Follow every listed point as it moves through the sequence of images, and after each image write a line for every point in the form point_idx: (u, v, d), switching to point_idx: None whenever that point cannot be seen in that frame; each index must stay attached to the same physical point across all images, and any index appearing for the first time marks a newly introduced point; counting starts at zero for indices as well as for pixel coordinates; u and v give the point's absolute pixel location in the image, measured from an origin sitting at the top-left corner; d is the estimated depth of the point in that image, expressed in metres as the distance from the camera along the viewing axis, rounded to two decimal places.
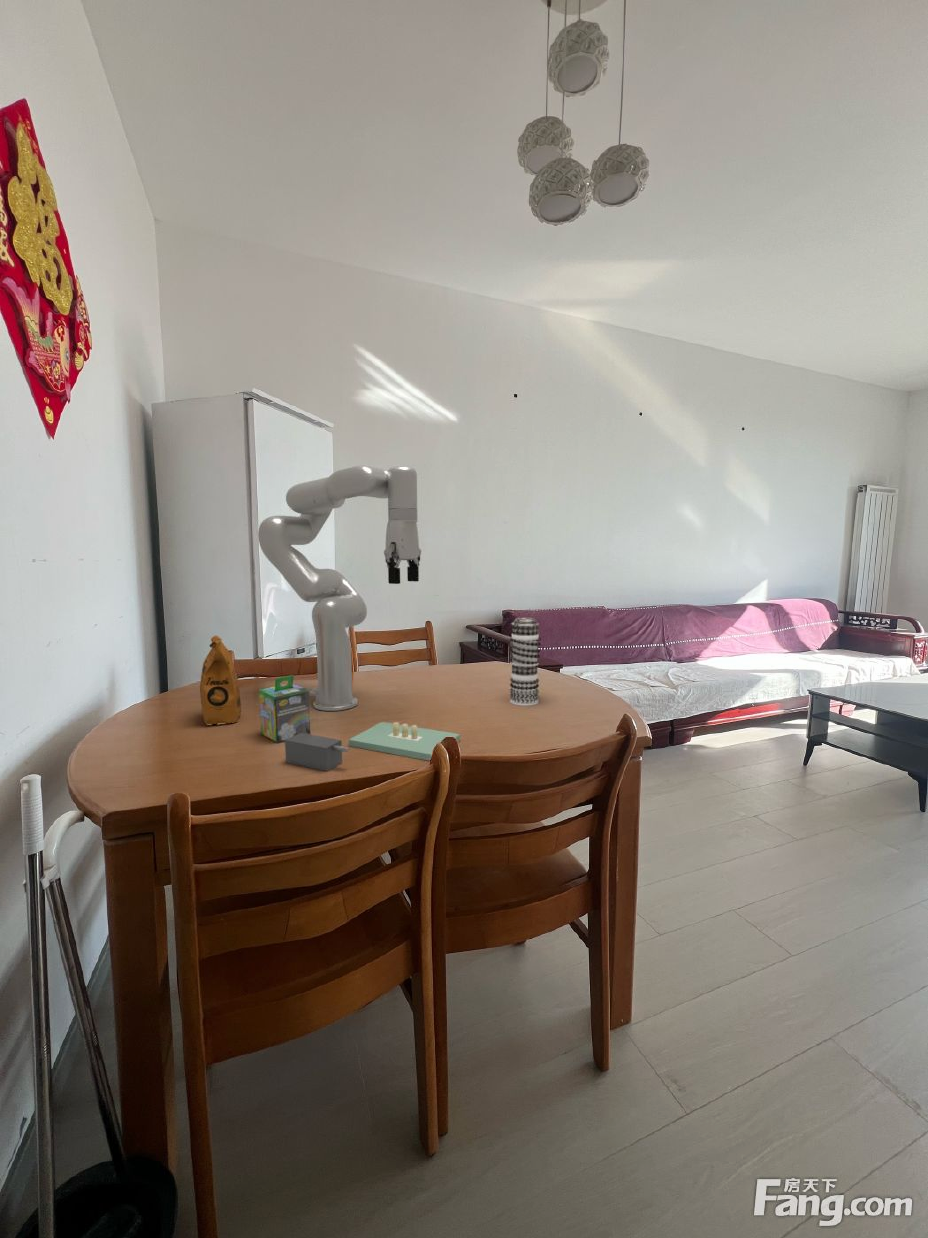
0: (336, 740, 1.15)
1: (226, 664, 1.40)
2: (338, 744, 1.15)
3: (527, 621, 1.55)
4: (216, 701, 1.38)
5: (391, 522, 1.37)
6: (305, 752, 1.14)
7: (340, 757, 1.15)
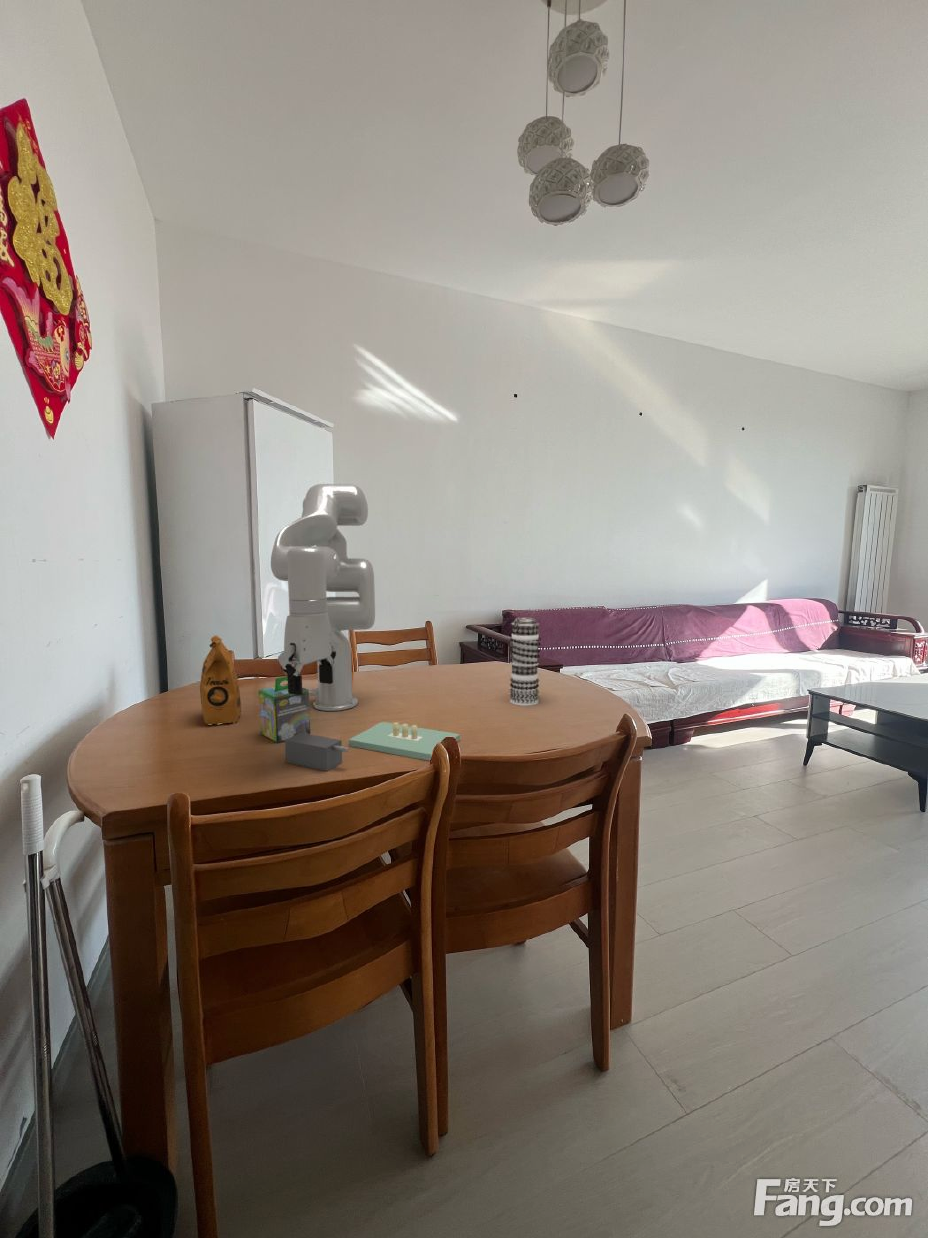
0: (336, 740, 1.15)
1: (226, 664, 1.40)
2: (338, 744, 1.15)
3: (527, 621, 1.55)
4: (216, 701, 1.38)
5: (290, 618, 1.08)
6: (305, 752, 1.14)
7: (340, 757, 1.15)
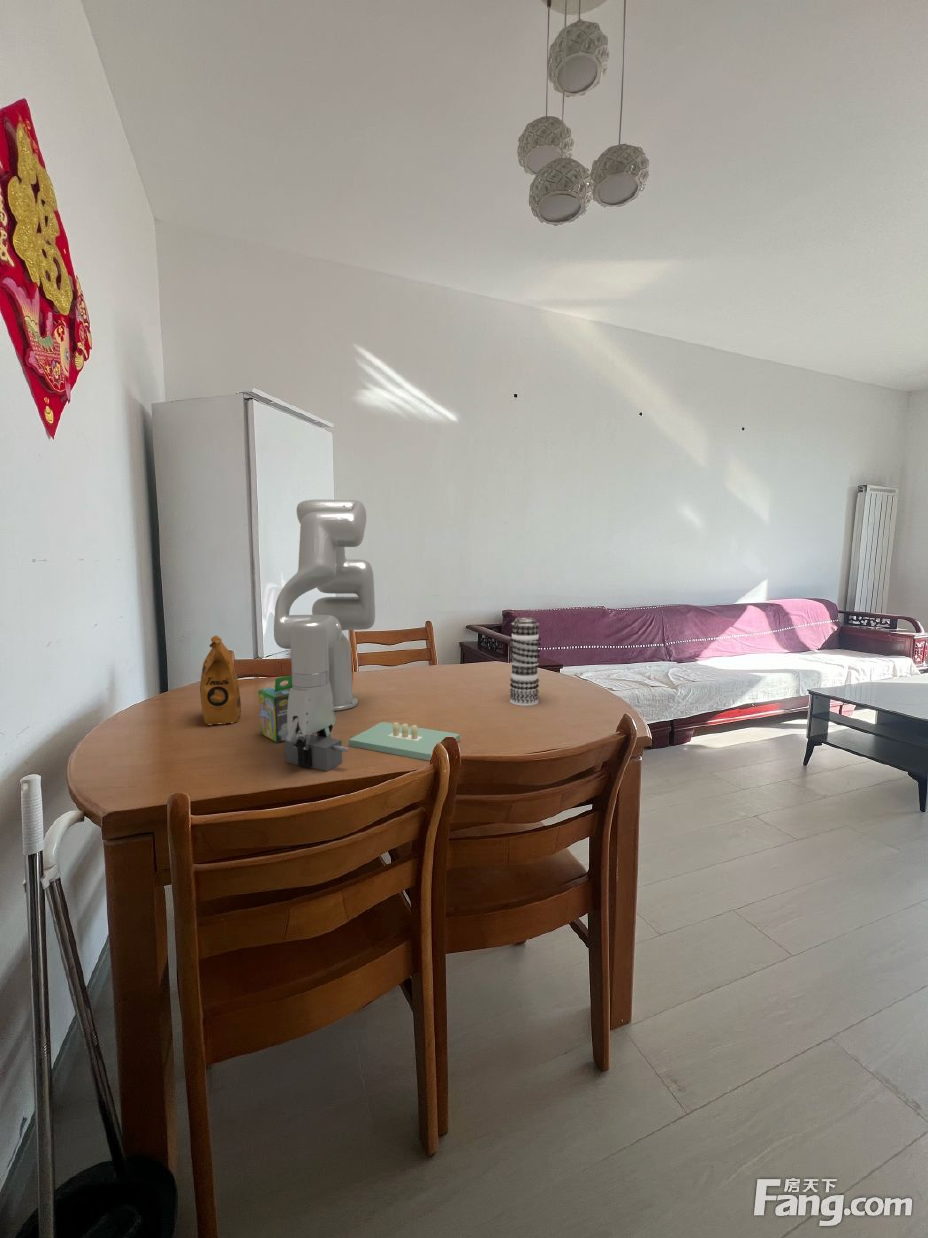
0: (336, 740, 1.15)
1: (226, 664, 1.40)
2: (338, 744, 1.15)
3: (527, 621, 1.55)
4: (216, 701, 1.38)
5: (293, 691, 1.10)
6: None
7: (340, 757, 1.15)
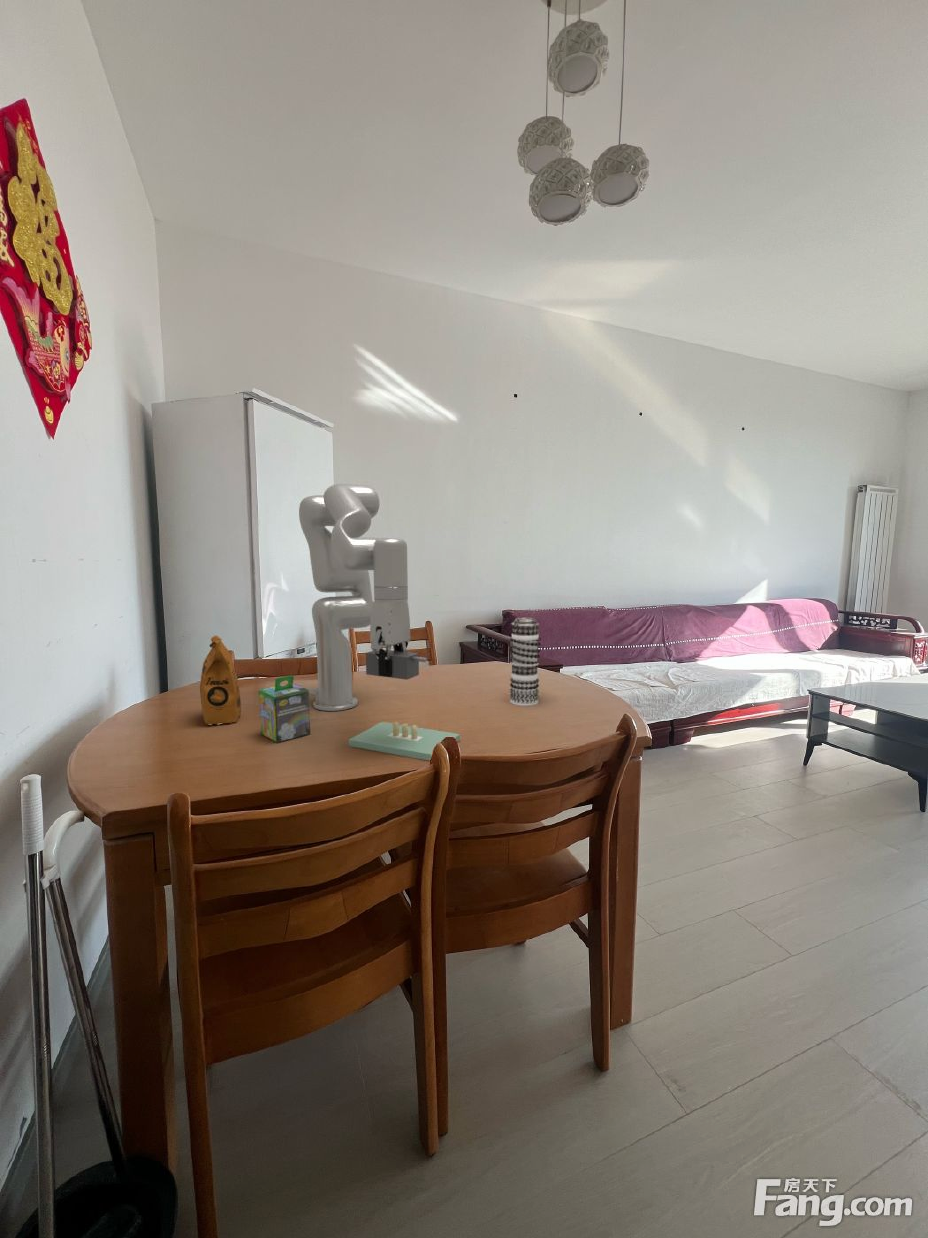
0: (414, 653, 1.23)
1: (226, 664, 1.40)
2: (416, 656, 1.22)
3: (527, 621, 1.55)
4: (216, 701, 1.38)
5: (377, 603, 1.18)
6: None
7: (417, 669, 1.23)
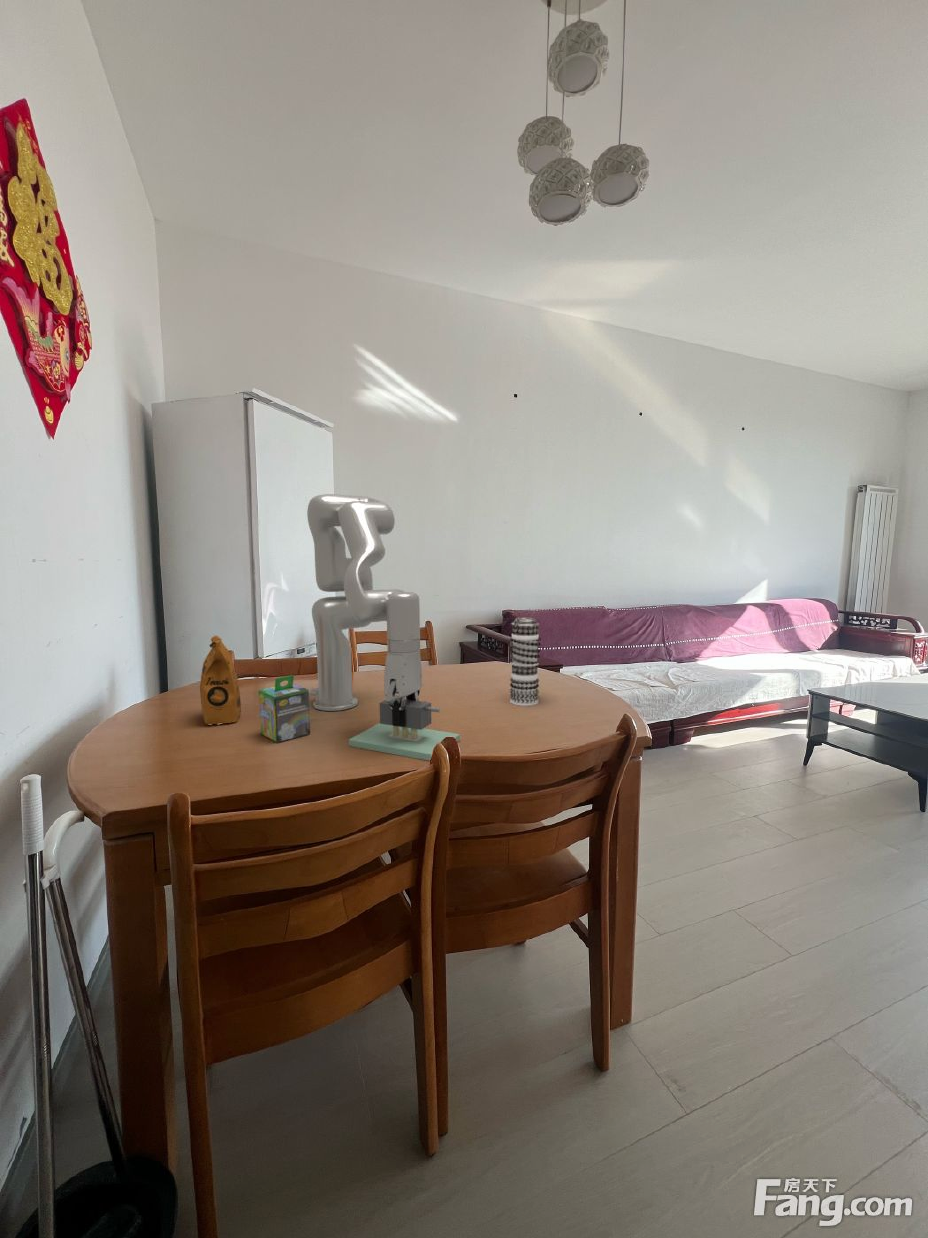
0: (426, 702, 1.26)
1: (226, 664, 1.40)
2: (429, 706, 1.25)
3: (527, 621, 1.55)
4: (216, 701, 1.38)
5: (391, 656, 1.21)
6: None
7: (430, 718, 1.26)
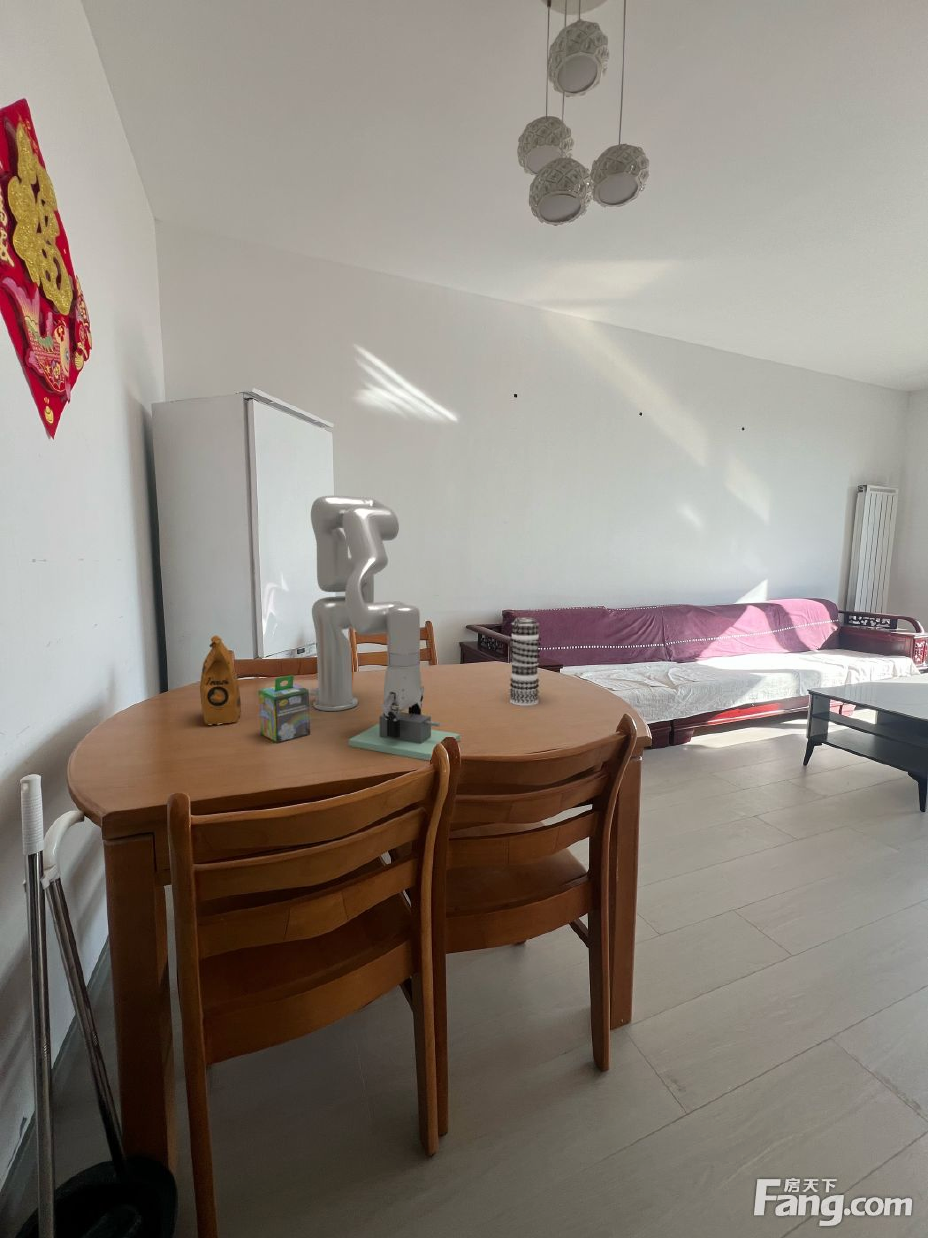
0: (426, 716, 1.26)
1: (226, 664, 1.40)
2: (428, 720, 1.26)
3: (527, 621, 1.55)
4: (216, 701, 1.38)
5: (391, 670, 1.21)
6: None
7: (429, 732, 1.27)
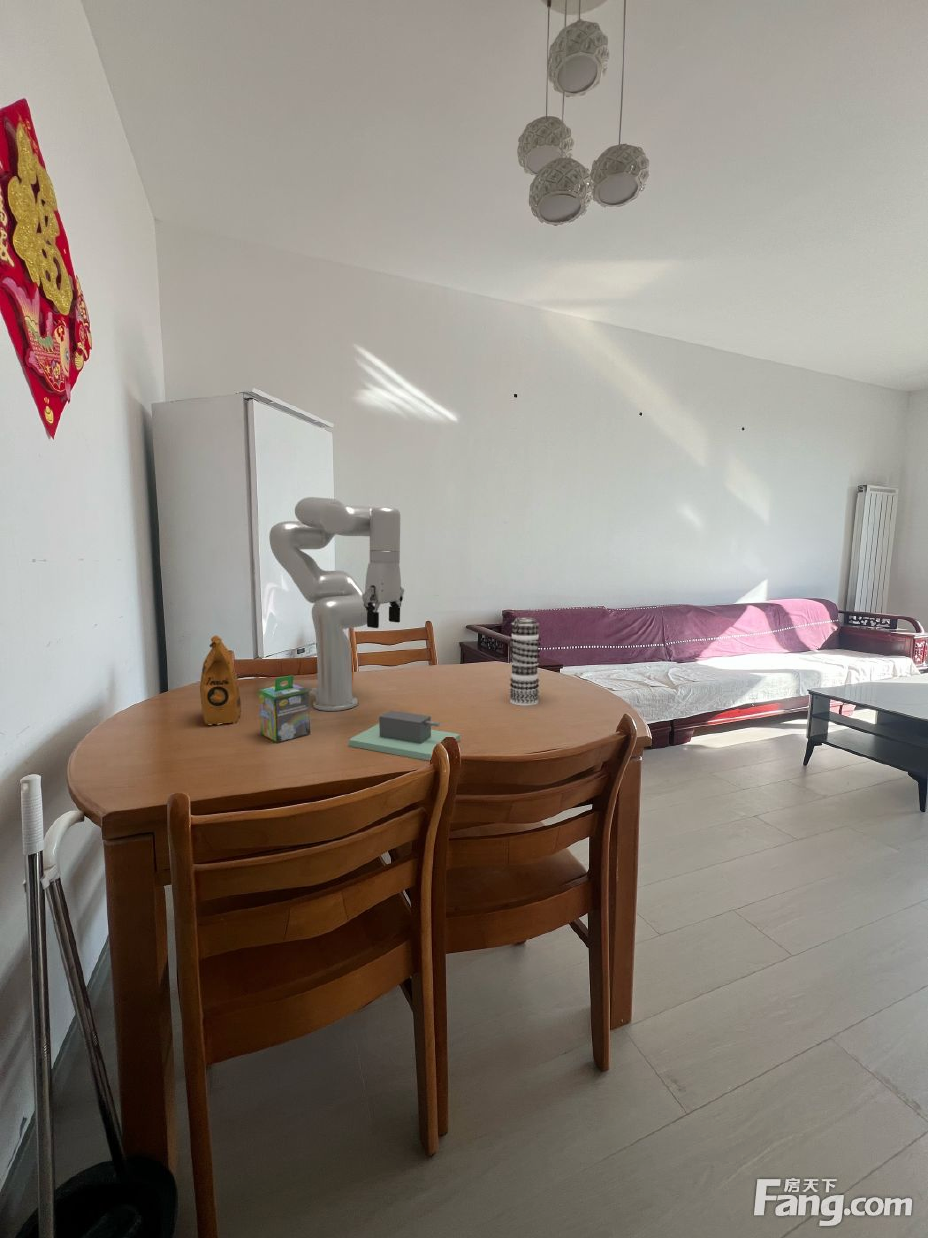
0: (426, 716, 1.26)
1: (226, 664, 1.40)
2: (428, 720, 1.26)
3: (527, 621, 1.55)
4: (216, 701, 1.38)
5: (372, 565, 1.33)
6: (399, 727, 1.25)
7: (429, 732, 1.27)
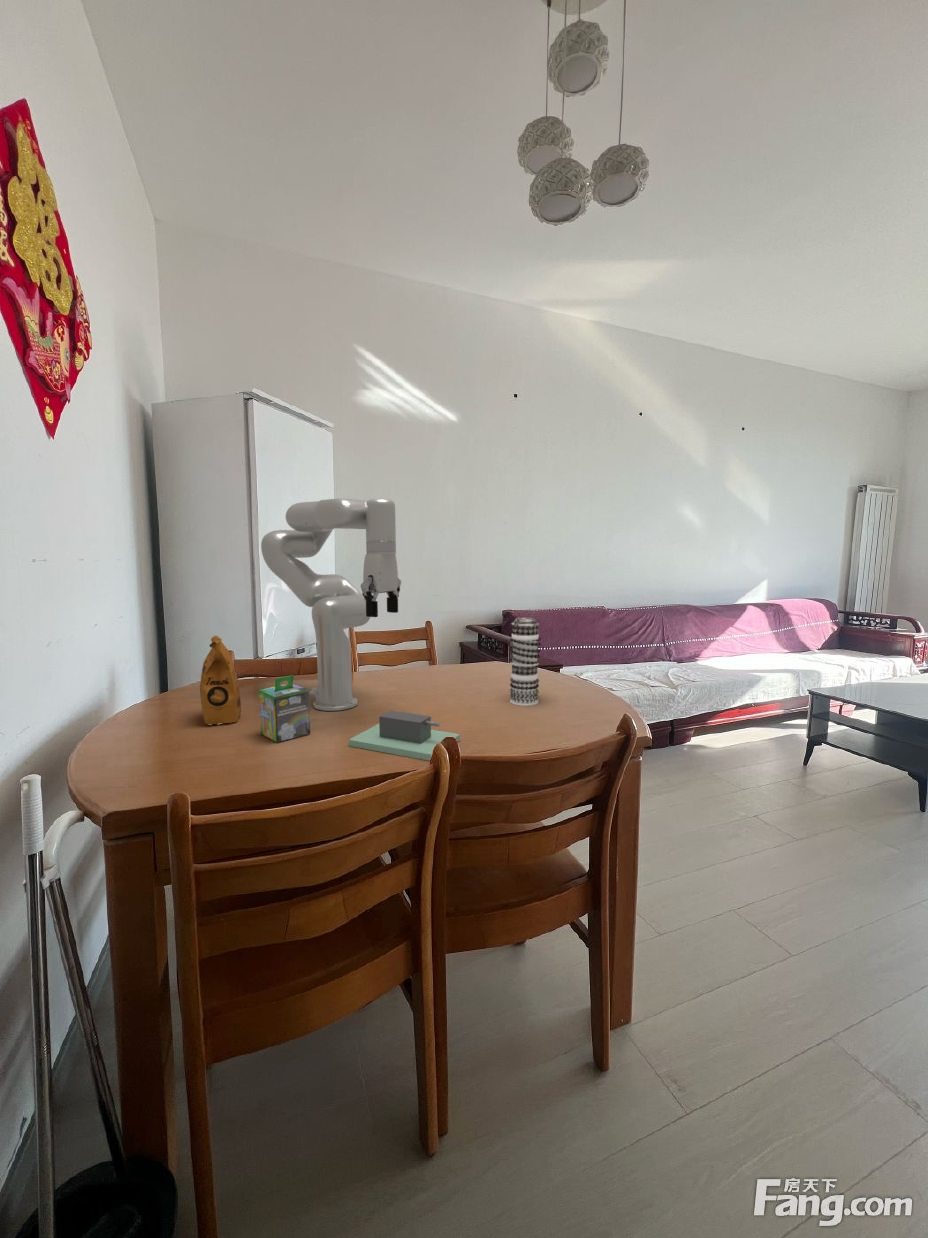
0: (426, 716, 1.26)
1: (226, 664, 1.40)
2: (428, 720, 1.26)
3: (527, 621, 1.55)
4: (216, 701, 1.38)
5: (369, 555, 1.35)
6: (399, 727, 1.25)
7: (429, 732, 1.27)
